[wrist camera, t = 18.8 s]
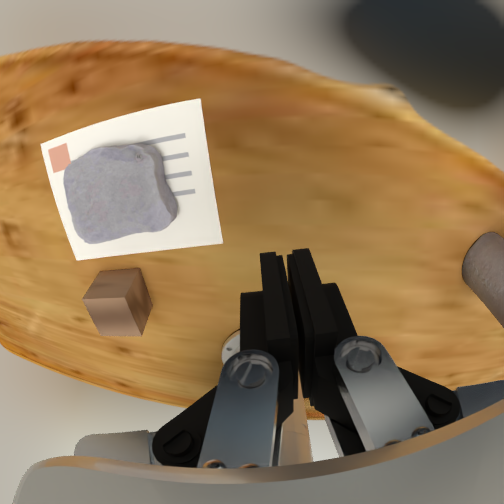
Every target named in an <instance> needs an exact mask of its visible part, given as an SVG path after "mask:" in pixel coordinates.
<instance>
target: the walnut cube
mask: <svg viewBox="0 0 504 504" xmlns="http://www.w3.org/2000/svg"><path fill="white" fill-rule="evenodd" d="M82 300H83V302H84V304H85V306H86V308H87V310H88V312H89V314H90V316H91V318H92V320H93V322H94V324H95V326H96V327H97V329H98V331H99V333H100V335H101V336H142V334H143V331H144V328H145V325H146V322H147V320H148V317H149V314H150V311H151V309H152V306H153V304H152V302H151V299H150V296H149V293H148V291H147V288H146V285H145V282H144V279H143V276H142V273H141V270H140V268H133V269H121V270H109V271H100V272H99V274H98V275H97V277H96V278H95V280H94V281H93V283H92V284H91V286H90V288H89V289H88V291H87V292H86V294H85V295H84V297H83V299H82Z"/></svg>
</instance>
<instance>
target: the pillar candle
mask: <svg viewBox="0 0 504 504" xmlns="http://www.w3.org/2000/svg"><path fill="white" fill-rule="evenodd" d="M462 275H463V279H464V281H465V283H466V284H467V285H468V286H469V287H470V288H471V289H472V290H473V292H474V293H475V294H476V295H477V296H478V297H479V298H480V300H481V301H482V302H483V303H484V304H485V305H486V307H487V308H488V309H489V310H490V311H491V313H492V314H493V315H494V316H495V318H496V319H497V320H498V321H499V323H500V324H501V325H502V326H503V328H504V239H503V238H502V237H501V236H500V235H498V234H497V233H494V232H488V233H485V234H483V235H482V236H481V237H480V238H479V239H478V240H477V241H476V242H475V244H474V245H473V246H472V247H471V248H470V249H469V251H468V253H467V254H466V256H465V259H464V263H463V266H462Z"/></svg>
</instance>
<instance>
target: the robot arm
mask: <svg viewBox="0 0 504 504" xmlns="http://www.w3.org/2000/svg"><path fill="white" fill-rule="evenodd" d="M260 263H261V274H262V286H263V291H257V292H247V293H241V297H240V330H239V331H237V332H235V333H234V334H232V335H231V336H230V337H229V338H228V339H227V340H226V341H225V343H224V345H223V348H222V361H223V364H224V366H223V368H222V371H221V375H220V378H219V382H218V385H217V386H215V387H214V388H213V389H212V390H210V391H209V392H208V393H207V394H205V395H204V396H203V397H201V398H200V399H199V400H197V401H196V402H195V403H194V404H192V405H191V406H190V407H188V408H187V409H186V410H184V411H183V412H182V413H180V414H179V415H177V416H176V417H175V418H173V419H172V420H171V421H169V422H168V423H167V424H165V425H164V426H162V427H161V428H160V429H159V430H158V431H156V432H149V431H148V430H141V431H133V432H122V433H109V434H92V435H88V436H85V437H83V438H82V439H80V440H79V442H78V443H77V445H76V447H75V451H74V456H62V457H55V458H50V459H46V460H43V461H40V462H37V463H35V464H34V465H32V466H31V467H30V468H29V469H28V470H27V471H26V472H25V474H24V475H23V477H22V479H21V481H20V483H19V486H18V488H17V491H16V494H15V496H14V500H13V503H12V504H504V380H499V381H494V382H488V383H482V384H476V385H470V386H463V387H457V388H456V390H455V391H451V390H450V389H448V388H446V387H444V386H442V385H439V384H437V383H435V382H432V381H430V380H428V379H425V378H423V377H421V376H418V375H416V374H414V373H411V372H409V371H407V370H404V369H402V368H400V367H398V366H396V364H395V363H394V361H393V360H392V358H391V356H390V355H389V353H388V352H387V350H386V349H385V347H384V346H383V345H382V344H381V343H380V342H378V341H377V340H375V339H373V338H370V337H367V336H357V333H356V330H355V328H354V325H353V323H352V320H351V318H350V315H349V313H348V310H347V308H346V305H345V303H344V300H343V298H342V296H341V293H340V291H339V288H338V286H337V284H336V283H328V284H322V283H321V280H320V277H319V275H318V272H317V269H316V266H315V264H314V261H313V258H312V256H311V253H310V250H309V248H306V249H296V250H293V251H292V254H289V255H287V269H288V281H287V276H286V271H285V266H284V261H283V257H282V255H279V256H276V252H268V253H260ZM304 398H309V400H310V405H311V406H314V407H315V409H316V410H317V411H319V412H321V413H323V414H324V416H325V421H326V423H327V426H328V429H329V431H330V434H331V436H332V439H333V442H334V444H335V447H336V450H337V452H338V455H339V458H334V459H328V460H322V461H316V462H313V457H312V451H311V444H310V438H309V431H308V425H307V418H306V411H305V405H304Z"/></svg>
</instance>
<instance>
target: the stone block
mask: <svg viewBox="0 0 504 504" xmlns="http://www.w3.org/2000/svg"><path fill="white" fill-rule="evenodd" d="M63 184H64V189H65V194H66V199H67V204H68V209H69V211H70V213H71V217H72V223H73V226H74V229H75V231H76V233H77V235H78V236H79V237H80V238H81V239H83V240H84V242H85V243H88V244H98V243H103V242H106V241H111V240H115V239H118V238H121V237H124V236H127V235H131V234H135V233H143V232H158V231H162V230H163V229H165V228H167V227H168V226H169V225H170V223H171V222H172V221H174V220H175V218H176V217H177V204H176V201H175V199H174V197H173V194H172V191H171V189H170V187H169V186H168V184H167V182H166V179H165V173H164V165H163V161H162V156H161V154H160V153H159V152H158V151H157V150H156V149H155V148H154V147H151V146H148V145H144V144H136V143H134V144H129V145H120V146H117V145H113V146H109V147H99V148H94V149H91V150H90V151H88V152H87V153H86V154H84V155H83V156H81V157H79V158H78V159H77V160H76V161H74V162H72V163H71V164H68V166H67V167H66V168H65V171H64V177H63Z"/></svg>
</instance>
